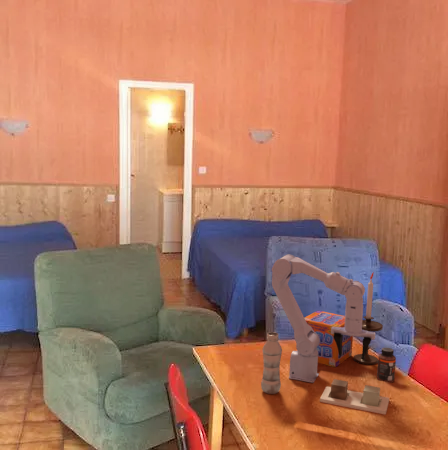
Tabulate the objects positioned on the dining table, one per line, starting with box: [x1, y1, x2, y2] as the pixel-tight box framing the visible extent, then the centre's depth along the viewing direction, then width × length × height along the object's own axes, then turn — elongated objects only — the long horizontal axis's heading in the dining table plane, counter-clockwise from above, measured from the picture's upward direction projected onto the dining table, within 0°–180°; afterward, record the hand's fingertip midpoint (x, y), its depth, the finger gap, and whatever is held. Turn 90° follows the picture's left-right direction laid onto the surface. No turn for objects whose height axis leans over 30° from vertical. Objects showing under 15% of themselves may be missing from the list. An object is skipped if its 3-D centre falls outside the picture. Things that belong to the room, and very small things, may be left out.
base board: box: [319, 386, 390, 415], centre depth 175 cm, size 20×10×2 cm, turn 68°
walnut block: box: [330, 378, 349, 400], centre depth 177 cm, size 4×4×5 cm
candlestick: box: [353, 271, 384, 366], centre depth 211 cm, size 11×11×35 cm
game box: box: [304, 310, 354, 368], centre depth 215 cm, size 16×16×16 cm
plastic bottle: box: [260, 331, 283, 395], centre depth 182 cm, size 6×7×20 cm
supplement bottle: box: [376, 347, 397, 383], centre depth 195 cm, size 6×6×11 cm
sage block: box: [362, 384, 381, 407], centre depth 173 cm, size 4×4×5 cm
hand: (351, 356), depth 189 cm, fingers open, 7 cm apart
